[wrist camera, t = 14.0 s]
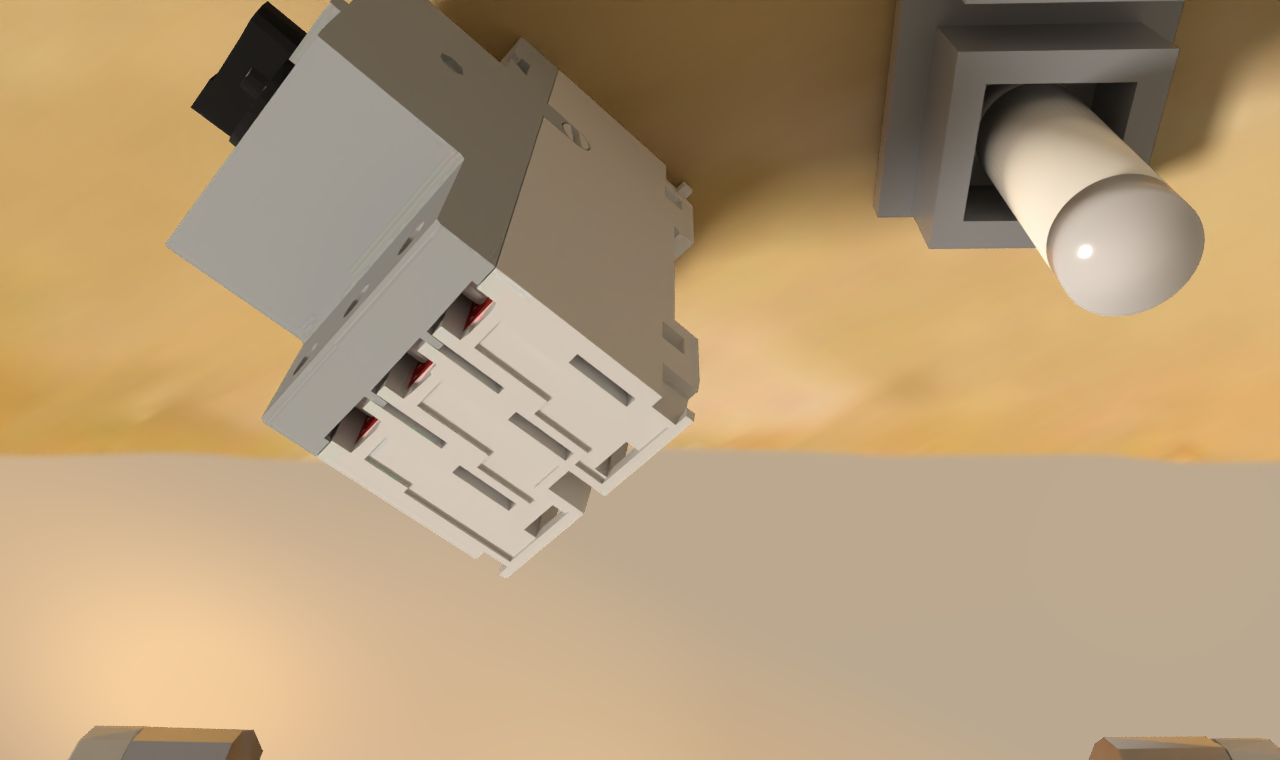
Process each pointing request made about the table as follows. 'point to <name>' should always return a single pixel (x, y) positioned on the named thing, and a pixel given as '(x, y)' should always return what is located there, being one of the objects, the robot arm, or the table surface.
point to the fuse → (1087, 200)
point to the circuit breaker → (448, 267)
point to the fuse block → (1007, 54)
